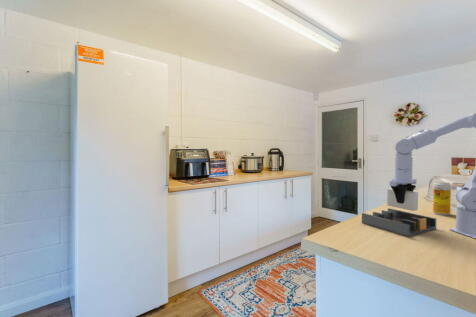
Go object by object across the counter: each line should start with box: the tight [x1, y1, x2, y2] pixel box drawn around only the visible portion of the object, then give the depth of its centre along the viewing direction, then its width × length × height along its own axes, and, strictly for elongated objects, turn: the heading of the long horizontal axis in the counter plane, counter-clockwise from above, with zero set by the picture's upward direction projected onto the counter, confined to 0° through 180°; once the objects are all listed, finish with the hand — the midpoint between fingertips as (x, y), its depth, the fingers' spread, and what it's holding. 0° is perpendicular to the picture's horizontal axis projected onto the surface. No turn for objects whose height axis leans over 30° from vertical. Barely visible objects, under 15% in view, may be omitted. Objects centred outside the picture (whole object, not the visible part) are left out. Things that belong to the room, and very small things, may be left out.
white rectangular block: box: [386, 188, 419, 212], centre depth 96 cm, size 10×3×7 cm, turn 25°
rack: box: [361, 207, 437, 238], centre depth 94 cm, size 18×18×5 cm
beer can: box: [432, 181, 452, 216], centre depth 110 cm, size 6×6×15 cm
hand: (402, 202), depth 96 cm, fingers closed on white rectangular block, 3 cm apart
